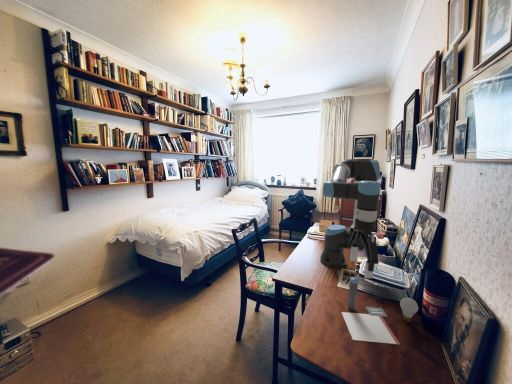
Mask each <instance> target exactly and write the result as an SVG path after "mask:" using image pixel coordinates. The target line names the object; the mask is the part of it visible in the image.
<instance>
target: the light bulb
mask: <svg viewBox="0 0 512 384" xmlns="http://www.w3.org/2000/svg"><path fill="white" fill-rule="evenodd" d="M399 301H400V302H399V305H400V308H401V310H402V319H403V321H405V322H406V323H409V322H410V323H411V322H412V317H414V315H415V314H416V313H417V312H418V311H419V306H418V303H417V302H416V300H414V299H413V298H411V297H407V296H405V297H403V298H401V299H400V300H399Z"/></svg>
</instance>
